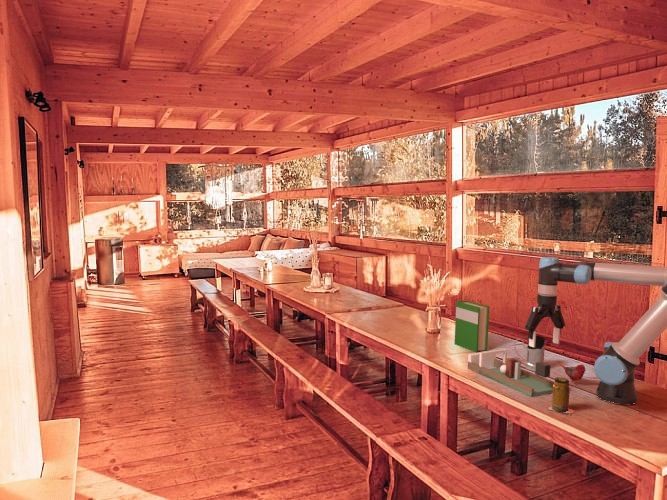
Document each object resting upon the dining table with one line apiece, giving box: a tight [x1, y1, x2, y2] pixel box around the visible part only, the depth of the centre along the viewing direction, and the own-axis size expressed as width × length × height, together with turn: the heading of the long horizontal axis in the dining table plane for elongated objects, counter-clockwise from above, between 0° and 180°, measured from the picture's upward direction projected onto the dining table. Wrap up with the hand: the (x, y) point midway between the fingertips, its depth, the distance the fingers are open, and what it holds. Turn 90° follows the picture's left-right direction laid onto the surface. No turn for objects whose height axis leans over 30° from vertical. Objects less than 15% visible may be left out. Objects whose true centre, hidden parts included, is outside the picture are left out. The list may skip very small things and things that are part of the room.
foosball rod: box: [506, 356, 551, 379], centre depth 238 cm, size 20×6×10 cm, turn 26°
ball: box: [500, 365, 506, 374], centre depth 251 cm, size 4×4×4 cm
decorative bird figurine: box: [558, 362, 587, 386], centre depth 246 cm, size 3×18×10 cm, turn 15°
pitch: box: [467, 348, 554, 398], centre depth 247 cm, size 40×15×10 cm, turn 26°
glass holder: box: [513, 335, 546, 372], centre depth 265 cm, size 9×14×15 cm, turn 78°
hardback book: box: [453, 300, 490, 353], centre depth 298 cm, size 18×7×24 cm, turn 27°
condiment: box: [547, 376, 571, 416], centre depth 213 cm, size 7×8×12 cm
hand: (544, 344), depth 230 cm, fingers open, 13 cm apart
